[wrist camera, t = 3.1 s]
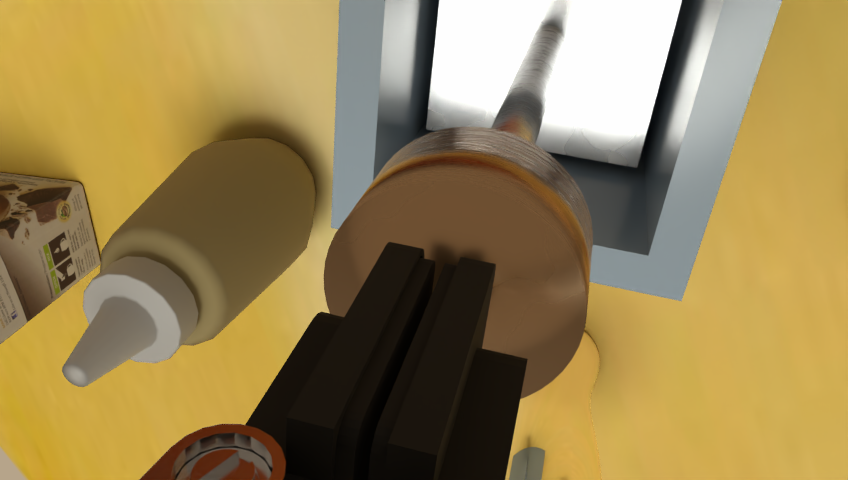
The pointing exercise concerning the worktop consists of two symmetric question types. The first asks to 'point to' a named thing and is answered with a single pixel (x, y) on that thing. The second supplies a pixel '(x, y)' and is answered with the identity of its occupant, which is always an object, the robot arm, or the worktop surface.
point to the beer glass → (559, 425)
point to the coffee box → (41, 245)
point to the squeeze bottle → (195, 254)
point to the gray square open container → (598, 181)
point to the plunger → (514, 161)
